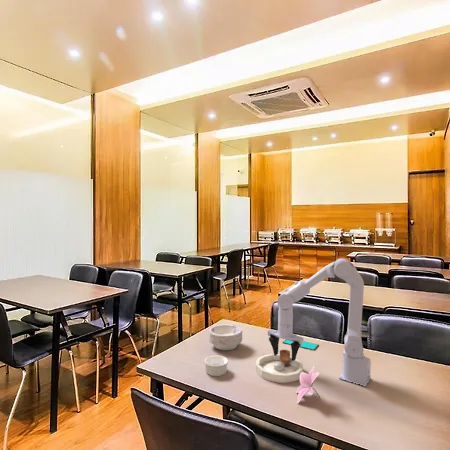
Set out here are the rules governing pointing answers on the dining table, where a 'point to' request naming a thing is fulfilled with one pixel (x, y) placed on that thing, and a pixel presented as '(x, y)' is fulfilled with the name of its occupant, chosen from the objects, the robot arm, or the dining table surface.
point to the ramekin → (216, 365)
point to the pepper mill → (285, 357)
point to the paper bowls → (225, 336)
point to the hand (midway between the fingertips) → (284, 357)
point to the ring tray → (275, 375)
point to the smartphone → (304, 345)
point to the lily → (306, 384)
